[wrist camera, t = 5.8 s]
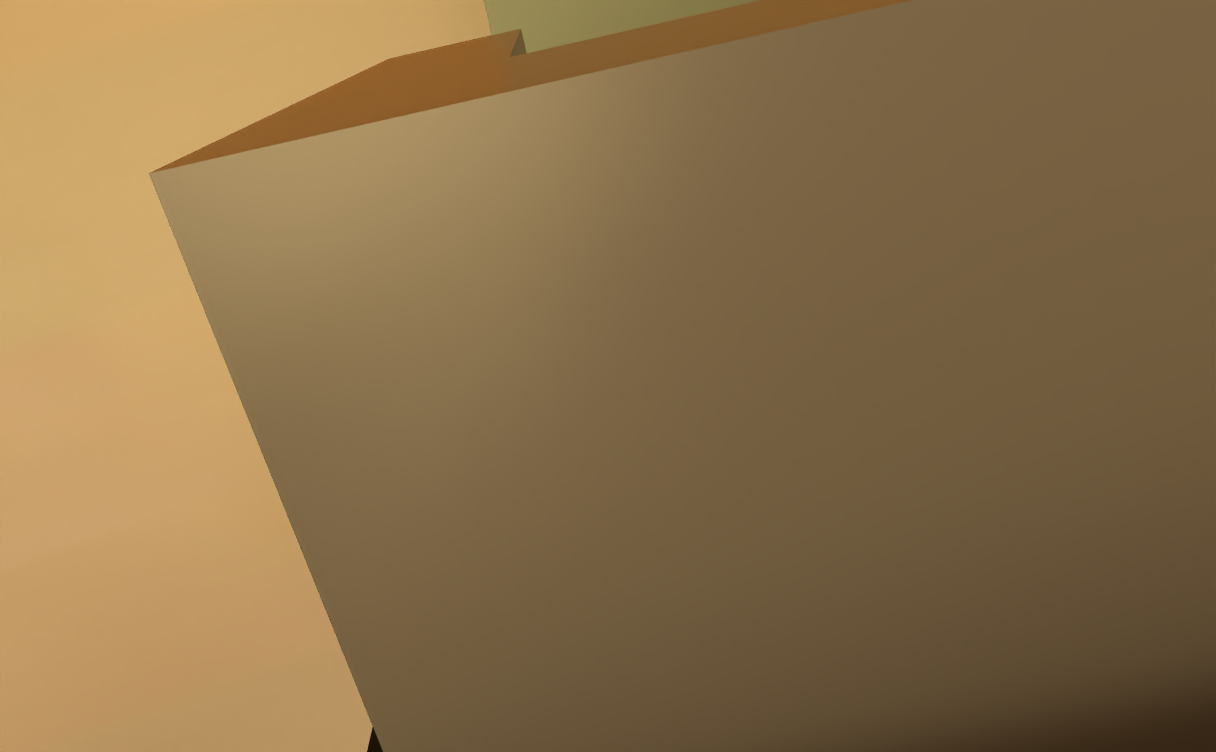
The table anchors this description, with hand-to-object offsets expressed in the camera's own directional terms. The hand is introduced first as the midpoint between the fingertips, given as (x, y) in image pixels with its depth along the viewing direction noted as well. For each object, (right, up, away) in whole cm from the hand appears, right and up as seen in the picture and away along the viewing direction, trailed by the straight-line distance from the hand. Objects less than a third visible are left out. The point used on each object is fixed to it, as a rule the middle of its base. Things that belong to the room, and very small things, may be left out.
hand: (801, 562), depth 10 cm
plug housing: (0, 0, +1) cm, 1 cm away
